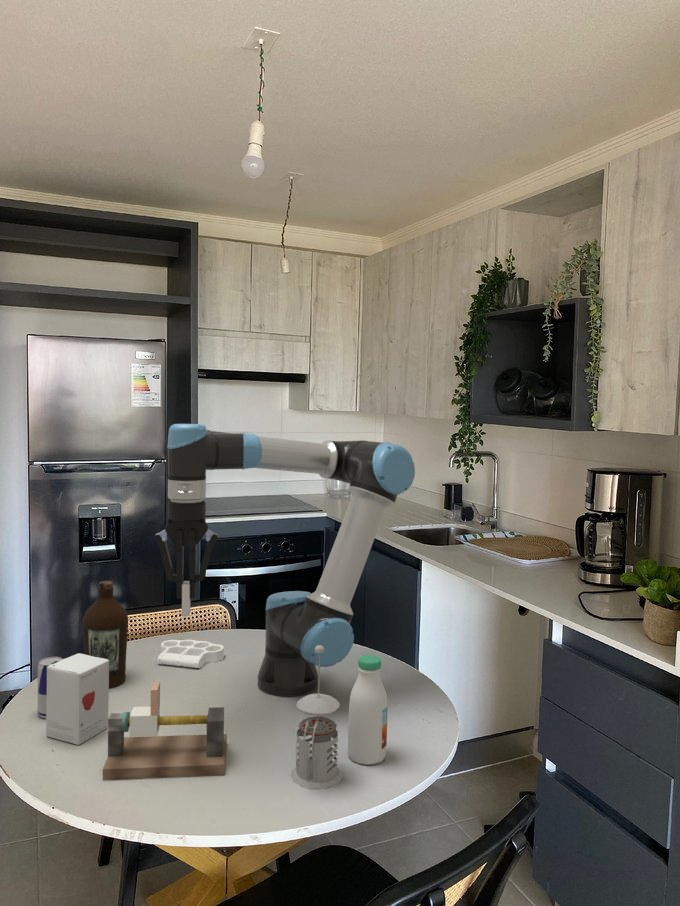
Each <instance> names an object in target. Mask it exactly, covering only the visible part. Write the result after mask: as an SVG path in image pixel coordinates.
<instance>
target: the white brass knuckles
mask: <svg viewBox="0 0 680 906" xmlns="http://www.w3.org/2000/svg"><path fill="white" fill-rule="evenodd" d="M224 650H225V647H224V646H223V645H222V644H215V643H212V642H209V641H206V640H195V639H183V640H182V639H181V640H179V639H178V640H177V639H169V640H164V641H162V642H161V643H160V654H159V655H158V657H157V660H156V661H157V664H159V665H166V666H168V665H169V666H175V667H180V666H181V667H182V666H183V668H190V669H191V668H193V669H197V668H199V669H201V668H203V667H204V666H205V664H204V663H206V664H208V663H207V662H214V663H218V662H217V661H219V662H221V661H223V660H224V659H223V658H225V651H224ZM222 659H223V660H222ZM220 660H221V661H220ZM200 667H201V668H200Z"/></svg>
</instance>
